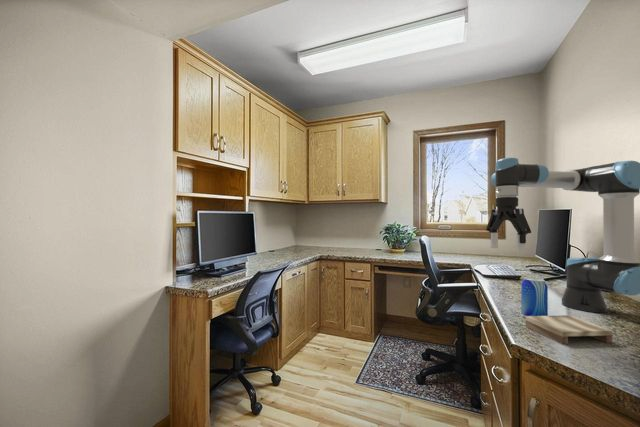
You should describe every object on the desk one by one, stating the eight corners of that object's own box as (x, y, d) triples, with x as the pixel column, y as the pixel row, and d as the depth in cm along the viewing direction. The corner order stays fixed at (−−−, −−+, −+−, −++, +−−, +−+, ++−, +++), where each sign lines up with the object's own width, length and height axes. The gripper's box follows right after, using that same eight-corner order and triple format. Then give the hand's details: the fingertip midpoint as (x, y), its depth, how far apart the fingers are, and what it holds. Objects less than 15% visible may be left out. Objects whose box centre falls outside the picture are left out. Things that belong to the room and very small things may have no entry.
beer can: (552, 323, 105) (552, 282, 106) (528, 321, 107) (528, 280, 107) (539, 315, 114) (539, 277, 114) (517, 314, 115) (517, 276, 115)
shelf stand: (569, 325, 103) (569, 315, 103) (612, 342, 89) (612, 330, 89) (525, 326, 101) (525, 316, 101) (562, 344, 87) (562, 331, 87)
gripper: (477, 199, 121) (477, 246, 120) (523, 194, 96) (523, 254, 96) (493, 199, 121) (492, 246, 121) (543, 194, 97) (543, 254, 96)
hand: (506, 250), depth 108 cm, fingers open, 13 cm apart
